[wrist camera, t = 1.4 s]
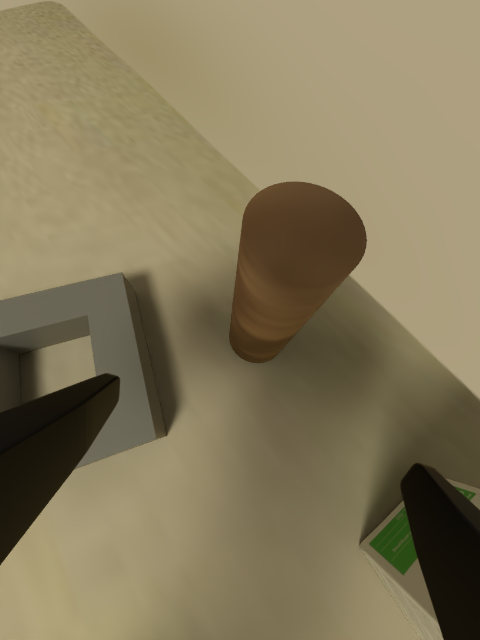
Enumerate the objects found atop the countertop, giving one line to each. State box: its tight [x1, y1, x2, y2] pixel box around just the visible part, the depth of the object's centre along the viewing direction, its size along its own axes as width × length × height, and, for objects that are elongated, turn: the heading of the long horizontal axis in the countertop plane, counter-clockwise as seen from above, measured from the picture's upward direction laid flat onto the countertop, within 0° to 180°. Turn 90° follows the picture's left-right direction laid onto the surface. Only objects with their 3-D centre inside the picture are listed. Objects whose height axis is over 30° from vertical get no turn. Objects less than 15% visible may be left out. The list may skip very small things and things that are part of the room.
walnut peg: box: [229, 182, 367, 363], centre depth 16 cm, size 5×5×14 cm
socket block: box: [0, 272, 167, 469], centre depth 19 cm, size 13×13×4 cm
